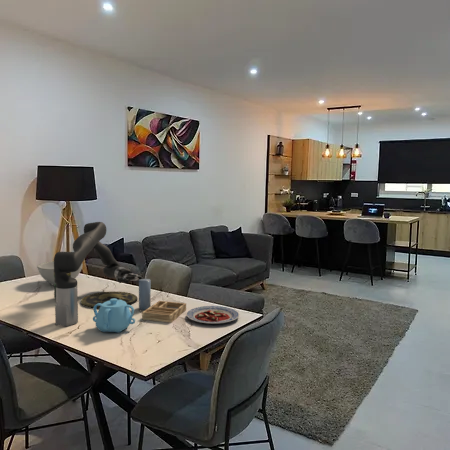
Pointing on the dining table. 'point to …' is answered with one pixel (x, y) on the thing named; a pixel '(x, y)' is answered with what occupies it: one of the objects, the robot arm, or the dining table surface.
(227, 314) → the ceramic plate
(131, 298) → the decorative plate
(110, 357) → the dining table surface
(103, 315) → the decorative pot
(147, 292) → the pale blue cylinder
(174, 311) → the wooden compartment tray
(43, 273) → the decorative bowl
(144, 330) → the dining table surface
